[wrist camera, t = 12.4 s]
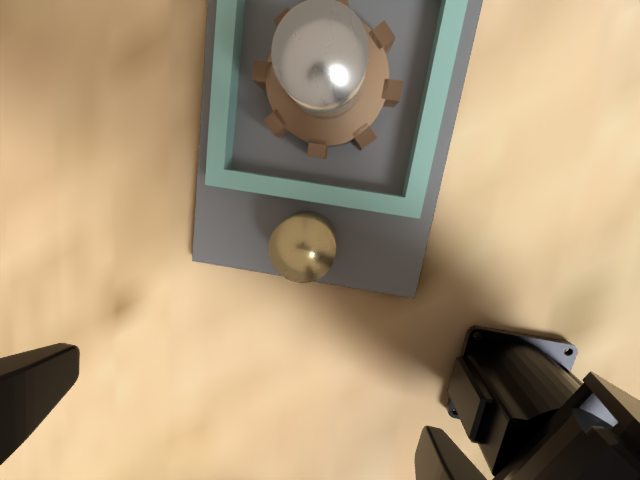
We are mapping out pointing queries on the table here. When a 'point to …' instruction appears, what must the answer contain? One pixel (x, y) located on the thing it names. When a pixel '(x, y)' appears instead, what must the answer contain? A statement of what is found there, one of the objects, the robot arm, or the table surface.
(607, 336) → the table surface
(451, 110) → the carrier plate
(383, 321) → the table surface
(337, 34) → the planet gear
